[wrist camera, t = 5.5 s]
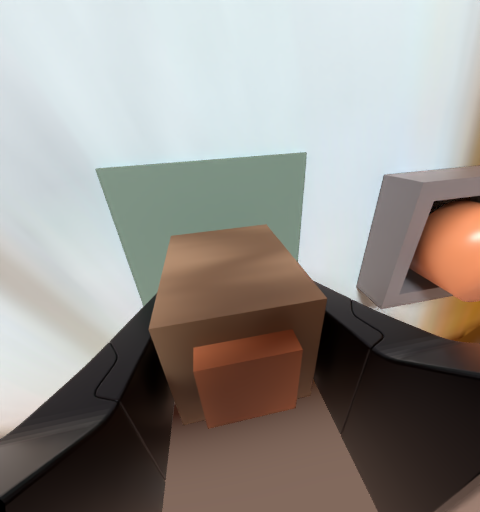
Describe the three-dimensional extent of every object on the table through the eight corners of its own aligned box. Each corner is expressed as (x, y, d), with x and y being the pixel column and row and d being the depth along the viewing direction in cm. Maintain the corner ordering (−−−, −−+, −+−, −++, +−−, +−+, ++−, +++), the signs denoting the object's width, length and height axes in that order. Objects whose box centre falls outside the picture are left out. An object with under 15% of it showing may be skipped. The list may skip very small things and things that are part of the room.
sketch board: (304, 152, 11) (306, 152, 11) (293, 291, 16) (295, 293, 15) (96, 168, 10) (95, 169, 10) (148, 315, 14) (147, 317, 14)
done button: (495, 195, 13) (571, 210, 10) (459, 267, 15) (513, 294, 13) (421, 204, 12) (482, 222, 10) (395, 278, 15) (439, 308, 12)
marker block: (266, 224, 9) (342, 316, 5) (266, 297, 11) (319, 416, 7) (170, 235, 9) (142, 353, 4) (187, 310, 11) (182, 450, 6)
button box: (499, 163, 14) (556, 168, 12) (447, 271, 18) (483, 290, 15) (384, 174, 13) (423, 182, 11) (356, 286, 17) (380, 309, 14)
